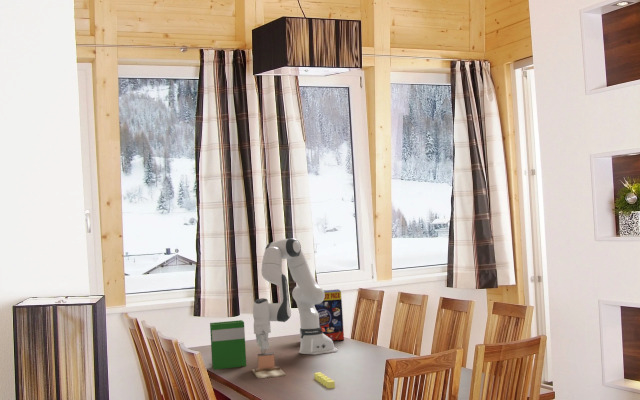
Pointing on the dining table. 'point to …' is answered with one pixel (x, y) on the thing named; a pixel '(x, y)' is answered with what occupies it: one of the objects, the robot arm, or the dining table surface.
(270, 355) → the block
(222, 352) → the hardback book
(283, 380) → the dining table surface
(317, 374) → the yellow segmented bar
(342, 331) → the cereal box
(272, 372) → the board
